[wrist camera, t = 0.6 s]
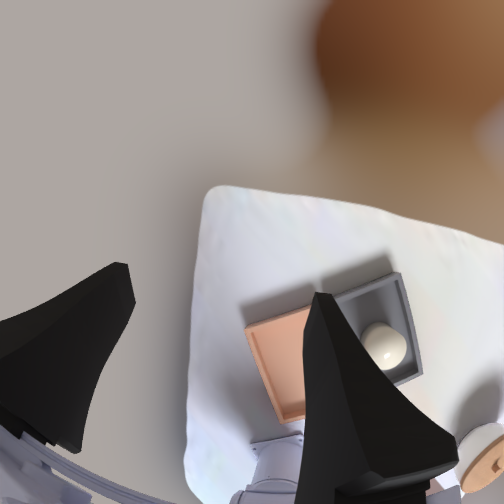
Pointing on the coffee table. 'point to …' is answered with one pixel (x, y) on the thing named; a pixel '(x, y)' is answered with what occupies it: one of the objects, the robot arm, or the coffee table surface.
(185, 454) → the coffee table surface
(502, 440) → the lidded bowl
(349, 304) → the tray
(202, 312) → the coffee table surface
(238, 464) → the coffee table surface
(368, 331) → the beige rounded cylinder
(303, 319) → the tray
